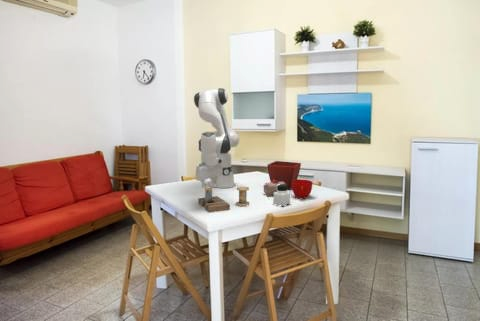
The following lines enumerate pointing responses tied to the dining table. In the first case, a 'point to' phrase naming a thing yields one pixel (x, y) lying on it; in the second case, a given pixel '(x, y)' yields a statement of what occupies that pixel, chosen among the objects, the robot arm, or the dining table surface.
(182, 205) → the dining table surface
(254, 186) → the dining table surface
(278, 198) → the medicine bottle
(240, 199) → the tan spool
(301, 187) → the ceramic cup
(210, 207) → the notch board
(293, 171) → the plant pot
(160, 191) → the dining table surface
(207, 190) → the gold lidded spice jar
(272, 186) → the food item
